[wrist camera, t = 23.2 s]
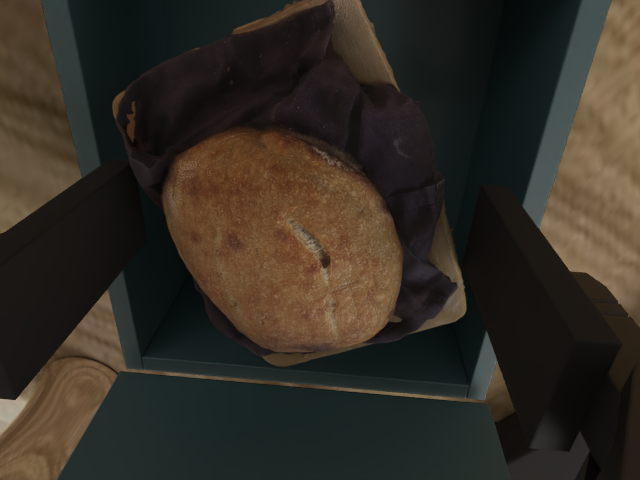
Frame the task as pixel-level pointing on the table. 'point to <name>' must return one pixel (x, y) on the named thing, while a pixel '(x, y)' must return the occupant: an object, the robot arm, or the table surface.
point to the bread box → (413, 80)
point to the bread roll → (297, 184)
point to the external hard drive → (538, 455)
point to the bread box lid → (280, 434)
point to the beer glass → (53, 419)
